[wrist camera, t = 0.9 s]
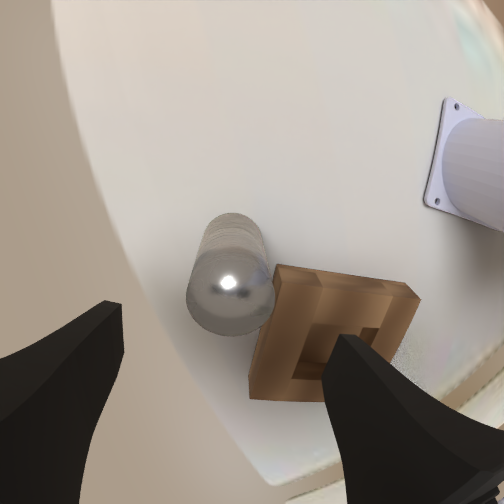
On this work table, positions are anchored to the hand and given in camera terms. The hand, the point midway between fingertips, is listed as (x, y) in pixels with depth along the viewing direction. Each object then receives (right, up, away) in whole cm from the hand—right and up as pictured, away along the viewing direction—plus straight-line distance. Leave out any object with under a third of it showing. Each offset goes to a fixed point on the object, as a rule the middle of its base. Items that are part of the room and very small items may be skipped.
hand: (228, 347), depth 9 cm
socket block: (+6, -3, +12) cm, 14 cm away
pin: (0, +4, +9) cm, 10 cm away
